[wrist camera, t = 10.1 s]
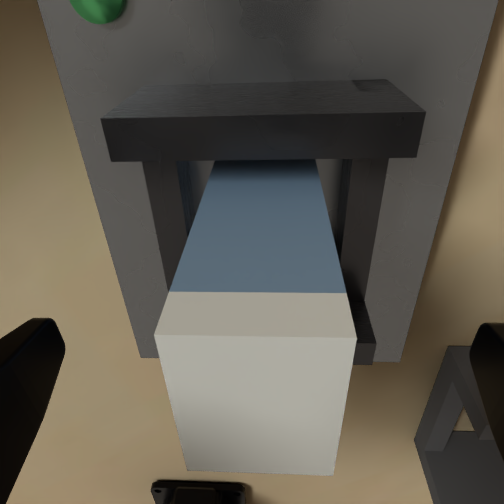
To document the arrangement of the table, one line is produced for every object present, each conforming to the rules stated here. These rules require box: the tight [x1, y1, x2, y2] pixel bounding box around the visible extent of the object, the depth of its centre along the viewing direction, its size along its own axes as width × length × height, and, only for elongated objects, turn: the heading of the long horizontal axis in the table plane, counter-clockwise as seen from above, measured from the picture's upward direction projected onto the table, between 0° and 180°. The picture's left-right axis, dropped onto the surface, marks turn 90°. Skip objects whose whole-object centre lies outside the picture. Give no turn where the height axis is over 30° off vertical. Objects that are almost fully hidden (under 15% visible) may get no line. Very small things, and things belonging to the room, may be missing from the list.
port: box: [37, 0, 498, 365], centre depth 12 cm, size 16×12×4 cm
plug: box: [154, 159, 357, 476], centre depth 10 cm, size 4×3×8 cm
